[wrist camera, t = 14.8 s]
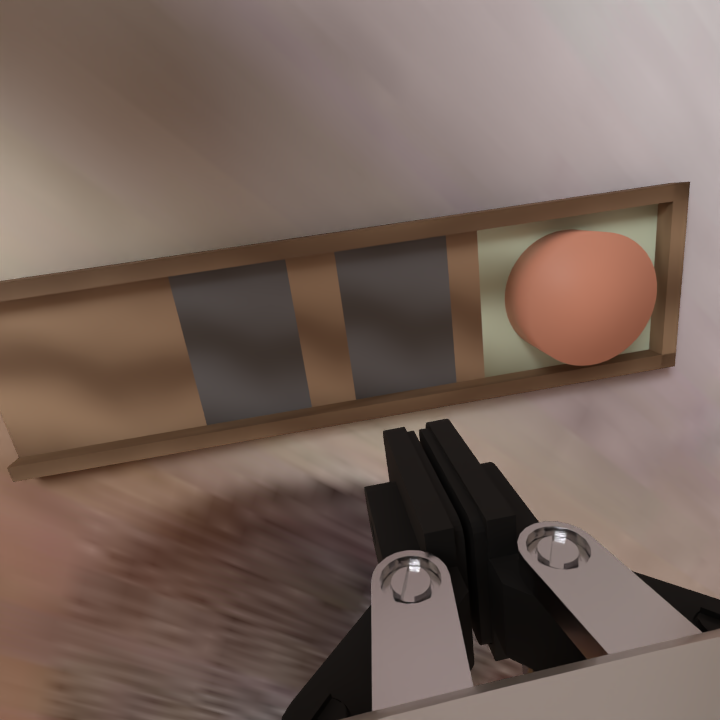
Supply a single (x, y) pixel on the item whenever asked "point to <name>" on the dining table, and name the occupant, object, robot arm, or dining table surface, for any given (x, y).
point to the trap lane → (302, 332)
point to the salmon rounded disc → (581, 295)
